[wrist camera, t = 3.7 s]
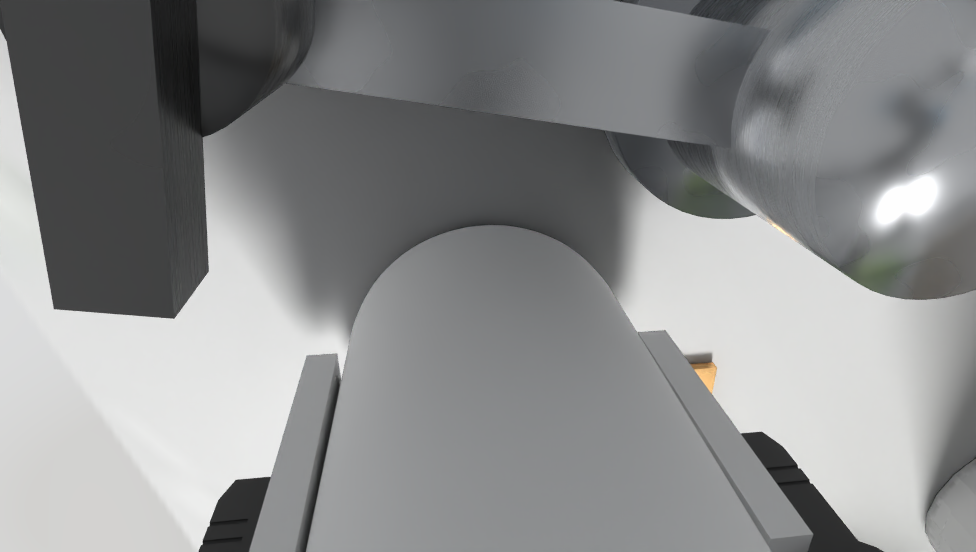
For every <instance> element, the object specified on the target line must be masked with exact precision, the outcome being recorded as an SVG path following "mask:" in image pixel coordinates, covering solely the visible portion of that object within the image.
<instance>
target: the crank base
mask: <svg viewBox="0 0 976 552" xmlns="http://www.w3.org/2000/svg"><path fill="white" fill-rule="evenodd" d="M700 1H701V0H622V2H624V3H630V4H635V5H640V6H646V7H651V8H656V9H662V10H667V11H672V12H678V13H683V14H688V15H689V13H690V12H691V11H692V9H693V8H694V7H695V6H696V5H697V4H698V3H699V2H700ZM604 131H605V134H606V136H607V139H608V141H609V144H610V146H611V148H612V150H613V151H614V153H615V155H616V156H617V158H618V160H619V161H620V162H621V164H622V165H623V166H624V167H625V169H626V170H627V171H628V172H629V173H630V174H631V175H632V176H633V177H634V178H635V179H636V180H638V181H639V182H640V183H641V184H642V185H643V186H644V187H645V188H647V189H648V190H649V191H650V192H651V193H652V194H653V195H655V196H656V197H657V198H659V199H660V200H662V201H663V202H665V203H666V204H668V205H670V206H672V207H674V208H676V209H678V210H680V211H682V212H686V213H689V214H692V215H696V216H700V217H707V218H714V219H733V218H741V217H748V216H753V215H756V214H754V213H753V212H751V211H750V210H748V209H747V208H745V207H744V206H742V205H741V204H739V203H738V202H737V201H735V200H734V199H732V198H731V197H729V196H728V195H726V194H725V193H723V192H722V191H720V190H719V189H717V188H716V187H714V186H713V185H711V184H710V183H708V182H707V181H705V180H704V179H702V178H701V177H699V176H698V175H696V174H695V173H693V172H692V171H691V170H690V169H688V168H687V167H686V166H685V165H684V164H683V163H682V162H681V161H680V160H679V159H678V158H677V157H676V155H675V154H674V152H673V151H672V149H671V148H670V146H669V144H668V142H667V140H666V139H661V138H655V137H648V136H641V135H634V134H627V133H621V132H614V131H607V130H604ZM690 365H691V366H692V368H693V369H694V370H695V372H696V373H697V374H698V376H699V377H700V379H701V380H702V381H703V383H704V384H705V385H706V387H707V388H708V390H709V391H710V392H711V394H712V390H713V385H714V380H715V375H716V370H717V367H716V366H715V365H714V363H713V362H712V363H699V364H690Z"/></svg>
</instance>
